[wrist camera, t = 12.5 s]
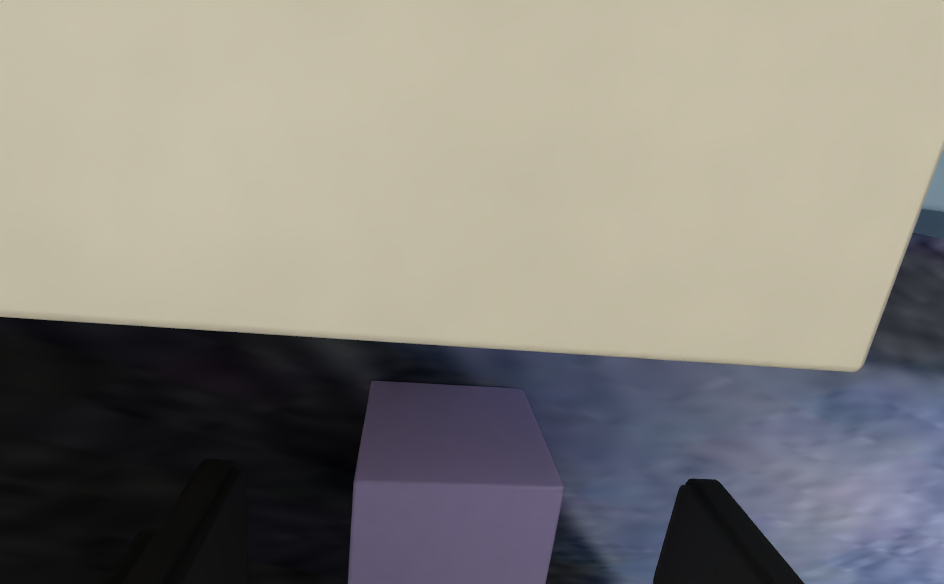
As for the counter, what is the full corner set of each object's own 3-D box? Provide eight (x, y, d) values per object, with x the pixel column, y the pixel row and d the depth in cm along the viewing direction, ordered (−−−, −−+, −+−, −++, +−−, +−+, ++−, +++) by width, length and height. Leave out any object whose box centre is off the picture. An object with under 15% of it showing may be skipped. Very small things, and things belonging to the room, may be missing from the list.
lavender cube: (503, 511, 15) (534, 644, 11) (362, 509, 14) (343, 647, 10) (523, 387, 14) (566, 487, 10) (371, 379, 13) (352, 482, 9)
